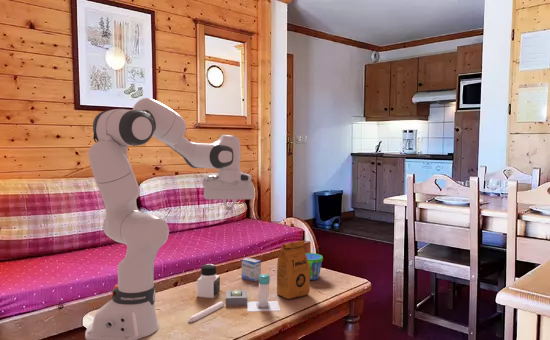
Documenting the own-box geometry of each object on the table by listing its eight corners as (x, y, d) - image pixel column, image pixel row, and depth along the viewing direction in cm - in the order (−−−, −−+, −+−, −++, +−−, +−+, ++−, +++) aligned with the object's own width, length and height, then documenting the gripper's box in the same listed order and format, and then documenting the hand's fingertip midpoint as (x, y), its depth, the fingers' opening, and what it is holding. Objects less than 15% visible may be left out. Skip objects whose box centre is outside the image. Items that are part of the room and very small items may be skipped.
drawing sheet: (247, 311, 153) (247, 311, 153) (246, 302, 162) (246, 301, 162) (280, 311, 154) (280, 310, 154) (277, 301, 163) (277, 300, 163)
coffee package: (312, 296, 169) (314, 242, 167) (287, 302, 162) (288, 246, 160) (298, 288, 177) (299, 237, 175) (273, 294, 171) (274, 240, 169)
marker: (190, 325, 142) (190, 318, 142) (185, 323, 143) (185, 316, 143) (224, 307, 157) (224, 301, 157) (219, 306, 158) (219, 300, 158)
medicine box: (241, 278, 189) (241, 259, 189) (247, 275, 193) (247, 257, 192) (255, 281, 185) (255, 262, 184) (261, 279, 188) (261, 260, 188)
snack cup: (318, 285, 182) (319, 262, 181) (295, 282, 185) (295, 259, 184) (325, 274, 197) (325, 252, 196) (303, 271, 200) (303, 250, 199)
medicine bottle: (214, 298, 165) (214, 268, 164) (196, 297, 166) (196, 267, 165) (220, 292, 172) (220, 263, 171) (203, 290, 173) (203, 262, 172)
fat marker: (257, 307, 156) (259, 277, 155) (257, 303, 160) (259, 273, 159) (268, 308, 156) (269, 278, 155) (268, 303, 160) (269, 274, 159)
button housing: (225, 305, 158) (225, 298, 158) (226, 297, 166) (226, 290, 166) (247, 305, 159) (247, 297, 159) (246, 297, 167) (246, 289, 166)
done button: (231, 301, 160) (231, 294, 160) (231, 298, 164) (231, 290, 164) (241, 301, 161) (241, 294, 160) (240, 297, 164) (240, 290, 164)
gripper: (202, 176, 163) (202, 211, 164) (255, 176, 165) (254, 211, 166) (203, 175, 169) (203, 208, 170) (254, 175, 171) (253, 208, 172)
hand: (229, 210), depth 168 cm, fingers closed
